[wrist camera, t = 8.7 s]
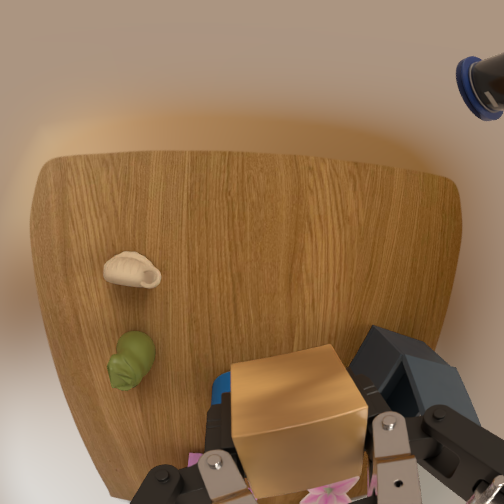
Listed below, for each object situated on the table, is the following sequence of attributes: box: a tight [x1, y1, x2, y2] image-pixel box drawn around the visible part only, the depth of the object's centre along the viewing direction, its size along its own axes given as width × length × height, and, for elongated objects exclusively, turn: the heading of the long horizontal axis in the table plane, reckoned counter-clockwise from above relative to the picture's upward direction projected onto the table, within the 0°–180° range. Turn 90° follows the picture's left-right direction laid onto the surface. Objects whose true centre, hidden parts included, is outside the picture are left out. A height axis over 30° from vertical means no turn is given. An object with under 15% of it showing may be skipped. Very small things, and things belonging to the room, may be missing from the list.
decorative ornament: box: [103, 251, 161, 288], centre depth 34 cm, size 4×8×5 cm, turn 81°
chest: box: [349, 325, 450, 417], centre depth 38 cm, size 15×12×9 cm
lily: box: [300, 476, 359, 504], centre depth 45 cm, size 12×12×10 cm
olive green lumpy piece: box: [107, 331, 155, 391], centre depth 34 cm, size 6×5×10 cm
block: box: [230, 344, 368, 499], centre depth 11 cm, size 4×4×4 cm
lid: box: [401, 354, 481, 426], centre depth 26 cm, size 15×12×1 cm
